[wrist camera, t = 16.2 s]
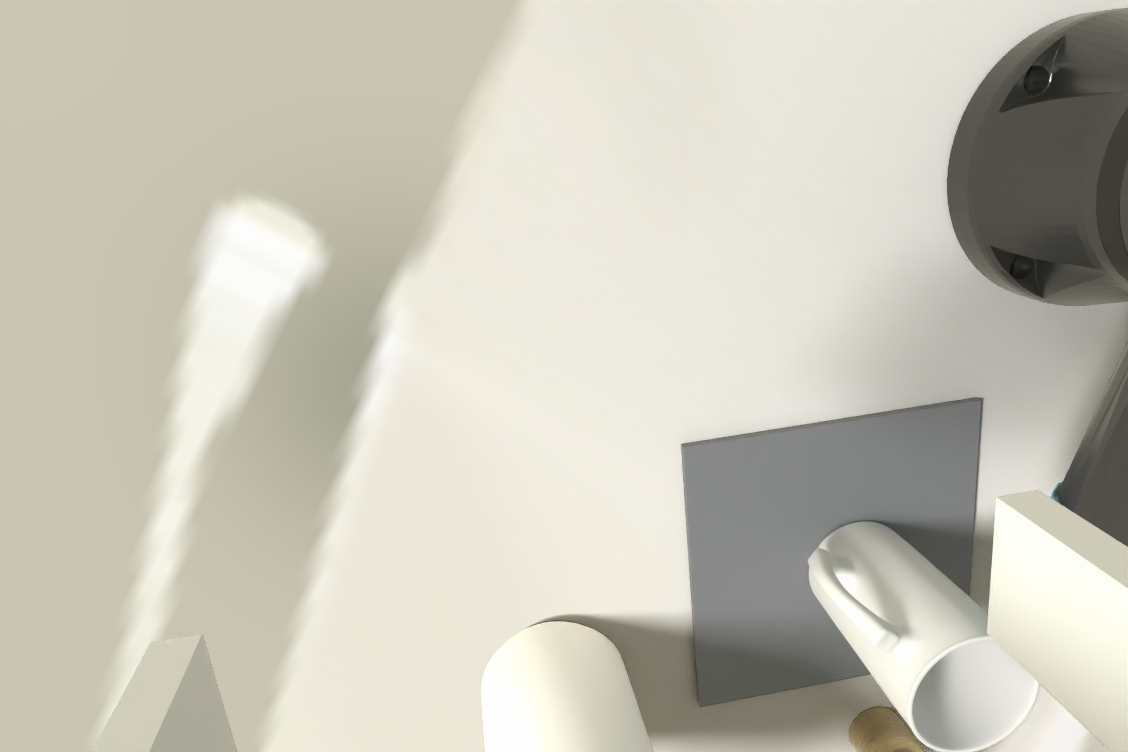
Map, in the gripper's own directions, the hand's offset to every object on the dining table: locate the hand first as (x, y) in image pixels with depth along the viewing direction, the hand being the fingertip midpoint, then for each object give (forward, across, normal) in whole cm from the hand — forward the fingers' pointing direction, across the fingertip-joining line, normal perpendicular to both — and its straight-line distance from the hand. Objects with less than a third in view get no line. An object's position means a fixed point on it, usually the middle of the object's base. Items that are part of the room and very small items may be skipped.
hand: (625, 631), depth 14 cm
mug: (+30, +18, -20) cm, 40 cm away
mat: (+31, +18, -20) cm, 41 cm away
